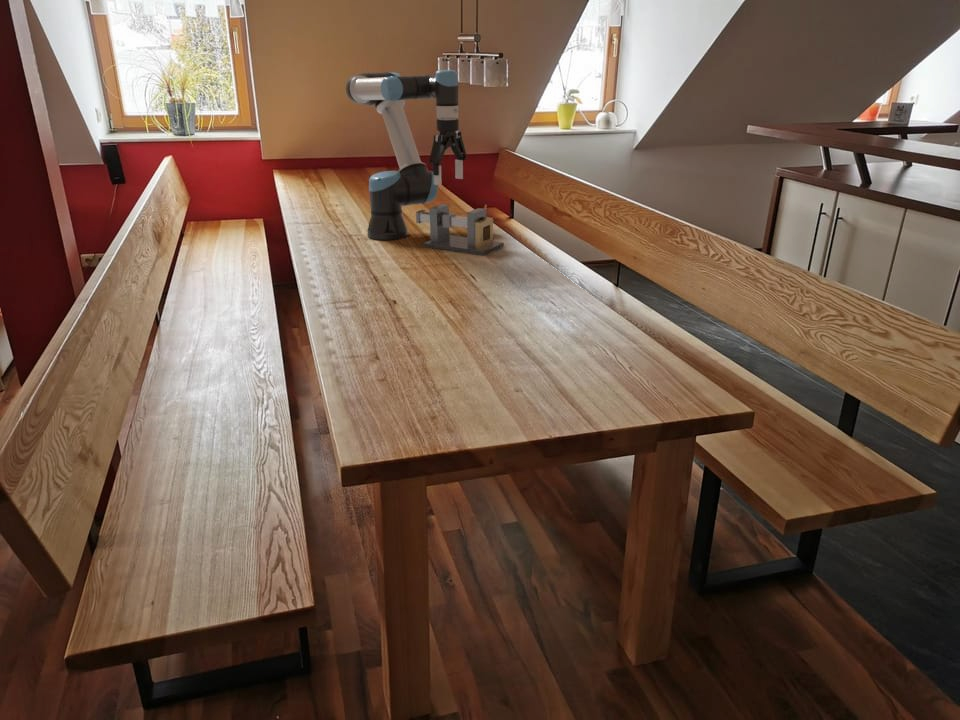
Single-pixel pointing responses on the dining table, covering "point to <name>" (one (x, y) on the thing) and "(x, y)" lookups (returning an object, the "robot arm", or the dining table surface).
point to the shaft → (443, 219)
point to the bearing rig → (455, 243)
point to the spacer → (479, 232)
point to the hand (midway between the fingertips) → (448, 181)
